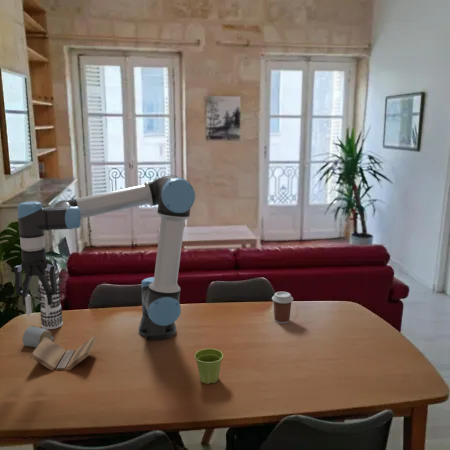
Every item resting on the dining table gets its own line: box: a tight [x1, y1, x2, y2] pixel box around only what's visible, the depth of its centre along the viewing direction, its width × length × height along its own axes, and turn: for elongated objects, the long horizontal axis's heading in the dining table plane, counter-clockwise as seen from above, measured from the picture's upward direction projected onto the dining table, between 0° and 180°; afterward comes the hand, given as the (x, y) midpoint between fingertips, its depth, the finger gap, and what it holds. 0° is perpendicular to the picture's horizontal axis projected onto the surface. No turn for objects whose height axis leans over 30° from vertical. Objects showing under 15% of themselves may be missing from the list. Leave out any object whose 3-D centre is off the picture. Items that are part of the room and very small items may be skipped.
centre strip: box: [55, 349, 76, 371], centre depth 158 cm, size 3×13×2 cm, turn 4°
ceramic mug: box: [22, 325, 55, 349], centre depth 172 cm, size 11×8×8 cm
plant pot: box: [194, 348, 224, 385], centre depth 148 cm, size 9×9×9 cm
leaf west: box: [66, 334, 98, 371], centre depth 158 cm, size 9×13×1 cm
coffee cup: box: [271, 291, 294, 324], centre depth 194 cm, size 9×9×12 cm
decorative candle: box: [37, 268, 64, 330], centre depth 188 cm, size 9×9×25 cm
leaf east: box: [29, 337, 67, 371], centre depth 157 cm, size 9×13×1 cm
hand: (38, 313), depth 154 cm, fingers open, 6 cm apart
